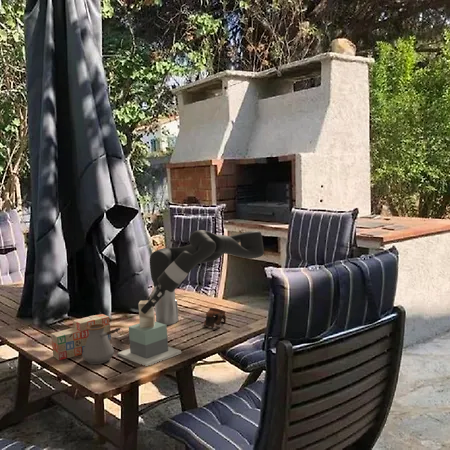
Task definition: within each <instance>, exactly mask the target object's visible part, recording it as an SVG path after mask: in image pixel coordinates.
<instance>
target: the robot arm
mask: <svg viewBox="0 0 450 450" xmlns="http://www.w3.org/2000/svg"><path fill="white" fill-rule="evenodd" d="M262 235H263V234H262V232H261V231H259V230H250V231H246V232H241V233H238V234H233V235H230V236H229V235H224V234H222V235H221V234H215V233H214V232H211V231H208V230H204V229H197V230H195V231H193V232H192V233H191V234H190V236H189V239H188V240H189V241H188V242H189V243H190V244H187V245H184V246H178V247H176V246H175V247H163V248H160V249H157V250H155V251H153V252H152V253H151V254H150V257H149V271H150V277H151V278H150V279H151V281H152V284H153V290H152V291H151V293H150V294H149V296H148V297H147V299H146V300H149V301H147V303H146V304H145V306H144V307H143V308H142V309H141V311H142V312H143V313H144V314H146V313H147V312H148V310H149V309H150V308H151V307H153V306H154V314H155V322H159V323H162V324H166V325H167V326H170V325H174V324H176V323H177V322H179V307H178V300H177V299H176V292H175V291H176V289H177V288H178V287H179V286H180V285H181V283H182V282H183V281H184V280H185V279H186V277H187V276H188V275H189V274H190V272H191V271H192V270H193V269H194V268H195V267H196V266H197V265H199V264H204V263H209V262H214V261H217V260H219V259H220V258H221V256H223V255H224V254H226V255H231V256H235V257H239V258H244V259H256V258H257V259H258V258H260V257H262V256H264V252H265V249H264V242H263V241H264V239H263V236H262ZM239 243H240V244H239ZM152 300H153V301H154V303H153V302H152Z"/></svg>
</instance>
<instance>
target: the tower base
mask: <svg viewBox="0 0 450 450" xmlns="http://www.w3.org/2000/svg"><path fill="white" fill-rule="evenodd" d="M167 327H168V325H166V324H162V323H159V322H156V321H155V325H154V327H151V328H140V322H139V323H136V324H132V325H129V326H128V338H129V340H128V341H129V348H127V349H124V350H122V351H119V352H117V356H119V357H121V358H123V359H126V360H129V361H131V362H134V363H136V364H139V365H141V364H142V365H141V366H144V365H145V366H144V367H146V366H147V367H149V366H148V365H150V366H152V365H155V364H157V362H158V363H160V362H163V361H165V360H168V359H170V358H173V357H175V356H177V355H178V356H179V355H180V354H182V350H180V349H178V348H174V347H172V346H169V341H168V329H167ZM162 360H163V361H162ZM159 361H160V362H159ZM154 363H155V364H154ZM151 364H152V365H151Z"/></svg>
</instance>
